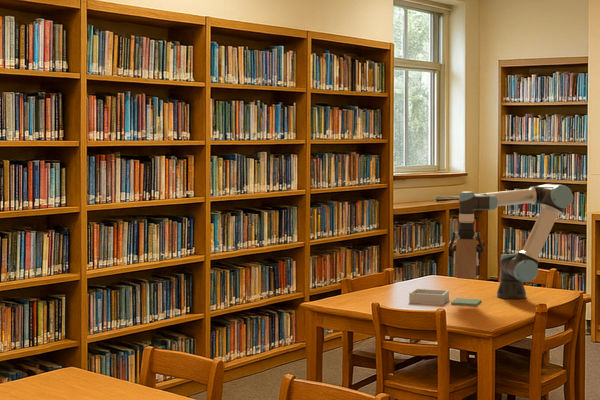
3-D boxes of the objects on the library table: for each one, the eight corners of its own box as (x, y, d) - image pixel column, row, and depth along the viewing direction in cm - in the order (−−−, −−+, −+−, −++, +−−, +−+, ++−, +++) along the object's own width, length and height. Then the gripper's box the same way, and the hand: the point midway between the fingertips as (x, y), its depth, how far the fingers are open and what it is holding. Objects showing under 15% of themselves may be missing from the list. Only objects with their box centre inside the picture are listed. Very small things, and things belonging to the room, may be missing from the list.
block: (476, 279, 419) (476, 239, 418) (456, 278, 421) (456, 239, 420) (476, 276, 429) (476, 237, 428) (456, 275, 431) (456, 237, 430)
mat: (481, 301, 429) (481, 299, 429) (476, 306, 417) (476, 303, 417) (456, 300, 434) (456, 298, 434) (451, 304, 422) (451, 302, 422)
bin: (449, 299, 436) (449, 290, 435) (443, 304, 422) (443, 295, 422) (416, 297, 442) (416, 288, 442) (409, 302, 429) (409, 293, 428)
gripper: (490, 221, 422) (490, 264, 424) (445, 220, 431) (445, 262, 432) (488, 223, 416) (487, 266, 417) (442, 221, 424) (442, 264, 426)
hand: (466, 264), depth 425 cm, fingers closed on block, 11 cm apart
